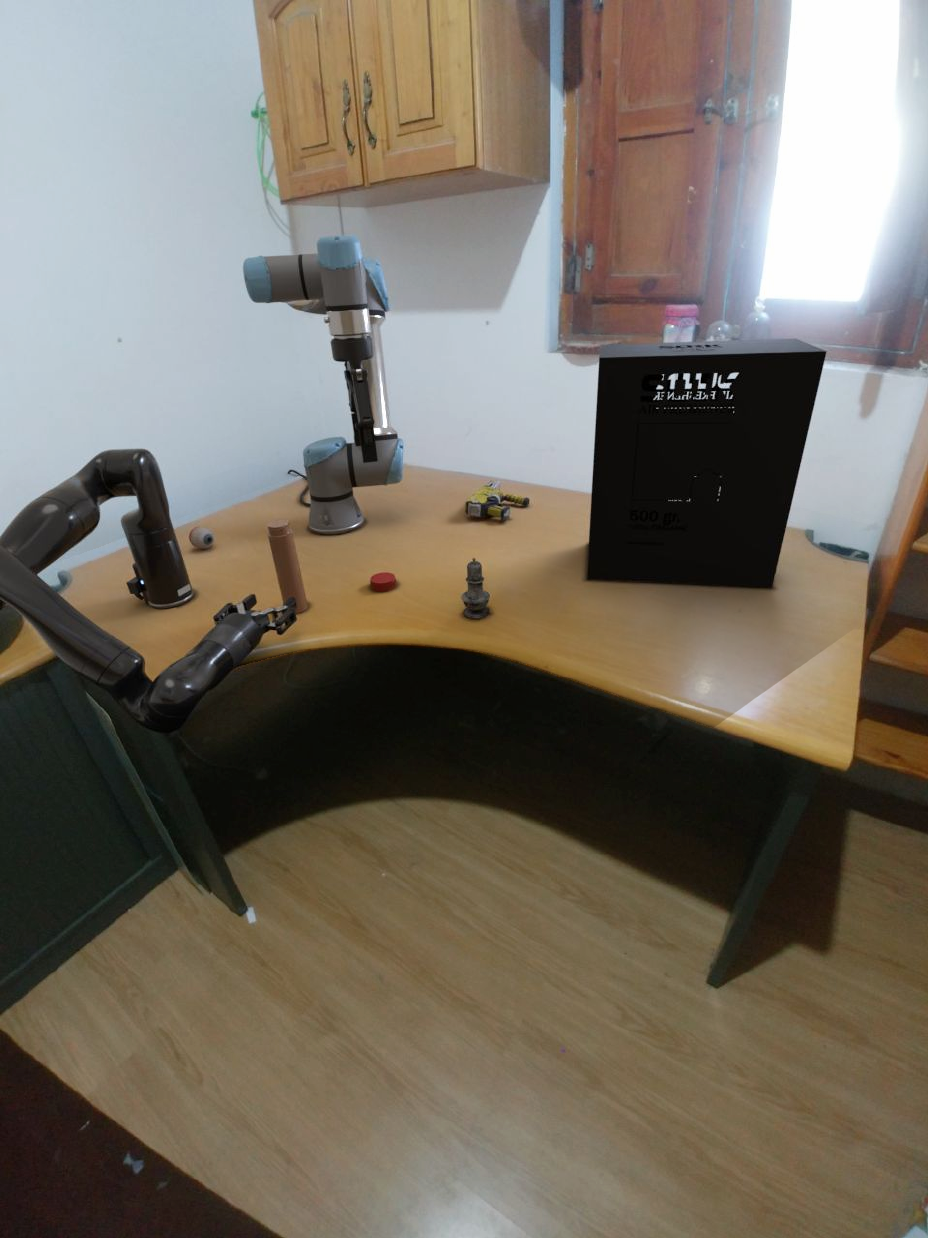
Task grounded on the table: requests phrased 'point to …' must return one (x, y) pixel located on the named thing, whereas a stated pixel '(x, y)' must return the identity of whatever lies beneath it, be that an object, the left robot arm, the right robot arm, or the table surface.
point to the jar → (286, 563)
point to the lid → (383, 581)
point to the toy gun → (492, 502)
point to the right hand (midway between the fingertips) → (366, 453)
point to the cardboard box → (698, 459)
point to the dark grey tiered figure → (475, 592)
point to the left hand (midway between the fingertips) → (274, 599)
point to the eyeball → (201, 537)
